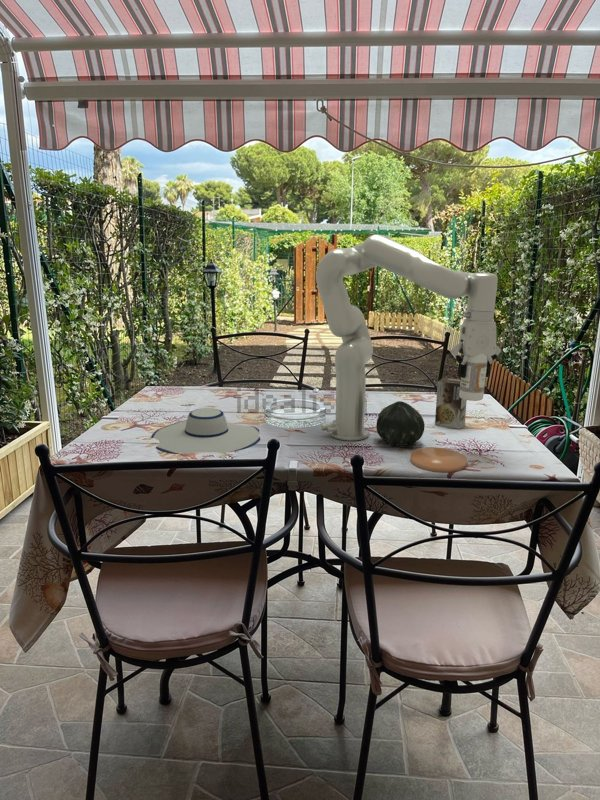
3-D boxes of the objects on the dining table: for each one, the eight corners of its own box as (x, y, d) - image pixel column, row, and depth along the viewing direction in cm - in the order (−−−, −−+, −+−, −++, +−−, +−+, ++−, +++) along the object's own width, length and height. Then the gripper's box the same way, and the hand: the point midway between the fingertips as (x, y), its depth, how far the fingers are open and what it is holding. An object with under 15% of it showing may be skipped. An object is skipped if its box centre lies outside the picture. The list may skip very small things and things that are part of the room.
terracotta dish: (425, 474, 151) (426, 469, 151) (401, 454, 166) (401, 449, 166) (477, 469, 155) (478, 464, 155) (449, 450, 170) (449, 445, 170)
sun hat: (136, 433, 187) (134, 407, 185) (232, 417, 206) (232, 393, 204) (173, 466, 158) (171, 436, 155) (282, 444, 176) (282, 416, 174)
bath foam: (475, 402, 162) (483, 334, 156) (454, 397, 166) (461, 331, 161) (487, 398, 166) (495, 332, 161) (466, 394, 171) (473, 329, 166)
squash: (409, 416, 186) (388, 387, 178) (440, 430, 173) (418, 399, 165) (382, 447, 184) (359, 419, 176) (411, 463, 171) (387, 434, 163)
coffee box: (465, 425, 195) (469, 380, 191) (459, 429, 190) (463, 383, 185) (440, 420, 200) (443, 377, 195) (433, 425, 194) (437, 380, 190)
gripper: (459, 318, 154) (453, 380, 159) (513, 318, 159) (506, 378, 163) (446, 315, 161) (440, 374, 166) (498, 314, 166) (491, 372, 170)
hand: (473, 376), depth 165 cm, fingers closed on bath foam, 7 cm apart
